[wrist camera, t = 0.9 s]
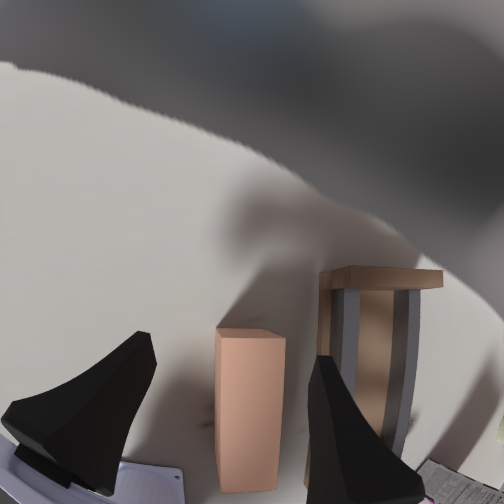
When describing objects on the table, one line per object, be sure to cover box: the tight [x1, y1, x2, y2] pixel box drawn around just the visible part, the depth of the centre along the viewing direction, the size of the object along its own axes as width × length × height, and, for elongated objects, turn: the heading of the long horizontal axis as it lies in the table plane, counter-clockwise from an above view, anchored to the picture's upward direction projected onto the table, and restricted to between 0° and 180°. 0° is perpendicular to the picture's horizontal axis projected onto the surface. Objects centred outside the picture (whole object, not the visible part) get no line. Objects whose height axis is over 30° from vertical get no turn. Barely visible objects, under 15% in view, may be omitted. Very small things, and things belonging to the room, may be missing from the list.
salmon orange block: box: [215, 328, 286, 493], centre depth 20 cm, size 12×4×7 cm, turn 179°
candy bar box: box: [416, 458, 504, 504], centre depth 16 cm, size 11×5×16 cm, turn 43°
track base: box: [304, 265, 443, 489], centre depth 22 cm, size 22×10×6 cm, turn 178°
